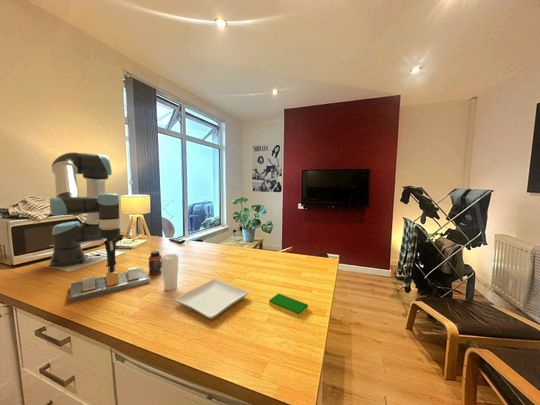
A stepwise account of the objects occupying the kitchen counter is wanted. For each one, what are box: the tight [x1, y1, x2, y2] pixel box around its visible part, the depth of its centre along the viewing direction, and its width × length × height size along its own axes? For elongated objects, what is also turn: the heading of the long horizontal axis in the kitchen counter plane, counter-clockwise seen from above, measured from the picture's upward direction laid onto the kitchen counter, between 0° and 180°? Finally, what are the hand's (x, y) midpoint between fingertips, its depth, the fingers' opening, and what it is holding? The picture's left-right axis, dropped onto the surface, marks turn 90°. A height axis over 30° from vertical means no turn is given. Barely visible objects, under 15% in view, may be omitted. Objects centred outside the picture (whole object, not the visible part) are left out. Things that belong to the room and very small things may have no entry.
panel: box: [68, 266, 151, 304], centre depth 99 cm, size 16×28×7 cm, turn 131°
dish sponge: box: [268, 293, 309, 318], centre depth 84 cm, size 7×14×2 cm, turn 54°
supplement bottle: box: [148, 250, 163, 276], centre depth 113 cm, size 6×6×11 cm
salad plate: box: [174, 278, 249, 320], centre depth 87 cm, size 21×21×3 cm
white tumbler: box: [161, 253, 179, 292], centre depth 96 cm, size 7×7×15 cm
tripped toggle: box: [105, 270, 119, 286], centre depth 95 cm, size 2×4×5 cm, turn 131°
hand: (111, 278), depth 97 cm, fingers closed
